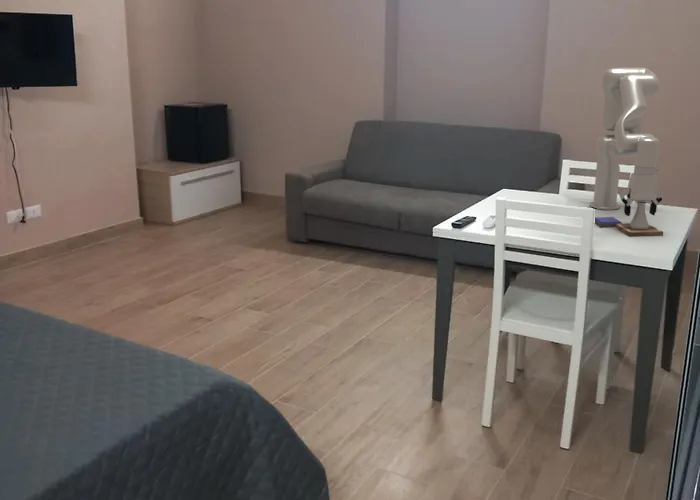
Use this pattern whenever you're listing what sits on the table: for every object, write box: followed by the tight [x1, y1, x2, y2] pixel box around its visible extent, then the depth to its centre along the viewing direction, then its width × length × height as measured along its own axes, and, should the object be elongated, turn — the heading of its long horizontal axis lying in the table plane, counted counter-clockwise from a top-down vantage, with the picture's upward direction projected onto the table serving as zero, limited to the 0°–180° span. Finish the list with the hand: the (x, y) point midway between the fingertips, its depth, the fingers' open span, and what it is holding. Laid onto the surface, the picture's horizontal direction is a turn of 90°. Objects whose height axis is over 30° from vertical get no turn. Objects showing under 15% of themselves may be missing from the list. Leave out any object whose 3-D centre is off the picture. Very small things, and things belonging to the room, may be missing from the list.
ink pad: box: [594, 216, 623, 229], centre depth 284 cm, size 9×9×2 cm
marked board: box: [614, 222, 664, 238], centre depth 274 cm, size 13×13×2 cm
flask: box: [629, 201, 649, 229], centre depth 272 cm, size 7×7×10 cm
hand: (639, 214), depth 273 cm, fingers open, 9 cm apart
